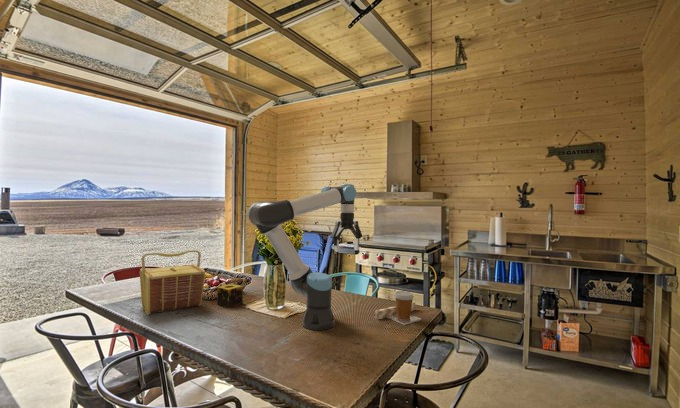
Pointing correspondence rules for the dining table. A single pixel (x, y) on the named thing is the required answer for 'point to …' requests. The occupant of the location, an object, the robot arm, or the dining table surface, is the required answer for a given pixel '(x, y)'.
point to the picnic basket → (171, 285)
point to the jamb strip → (389, 311)
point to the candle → (229, 295)
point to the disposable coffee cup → (403, 304)
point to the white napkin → (404, 321)
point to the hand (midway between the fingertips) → (346, 250)
